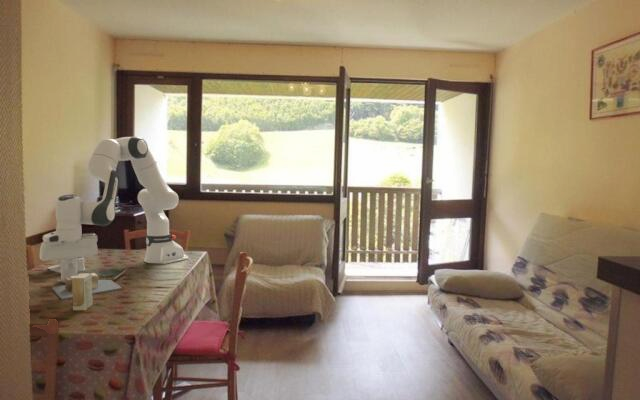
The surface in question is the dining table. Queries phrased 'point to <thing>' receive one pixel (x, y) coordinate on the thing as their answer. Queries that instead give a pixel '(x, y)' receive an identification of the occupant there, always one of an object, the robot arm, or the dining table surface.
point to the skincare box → (82, 291)
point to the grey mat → (102, 287)
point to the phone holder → (79, 265)
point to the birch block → (69, 279)
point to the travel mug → (65, 271)
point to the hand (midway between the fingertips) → (70, 268)
